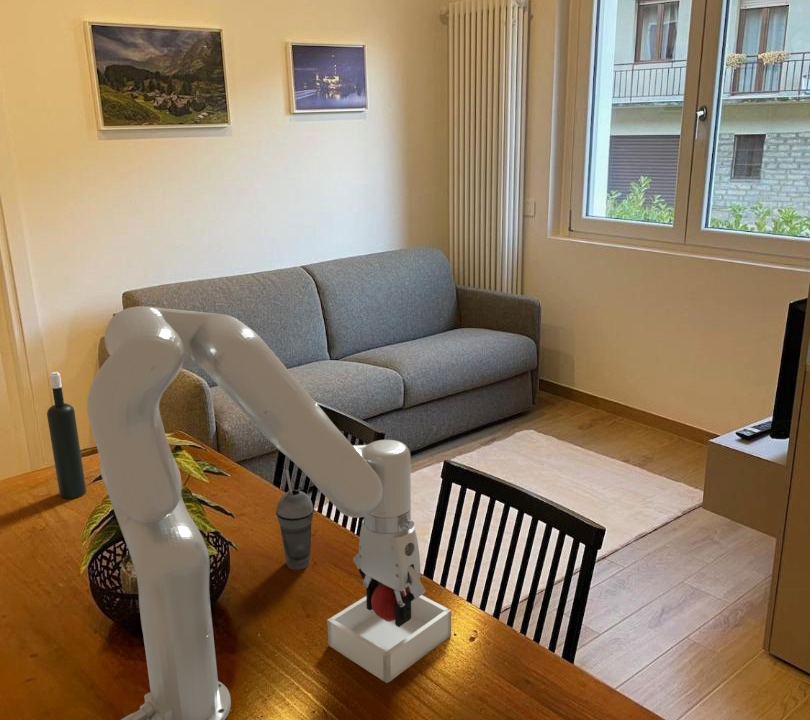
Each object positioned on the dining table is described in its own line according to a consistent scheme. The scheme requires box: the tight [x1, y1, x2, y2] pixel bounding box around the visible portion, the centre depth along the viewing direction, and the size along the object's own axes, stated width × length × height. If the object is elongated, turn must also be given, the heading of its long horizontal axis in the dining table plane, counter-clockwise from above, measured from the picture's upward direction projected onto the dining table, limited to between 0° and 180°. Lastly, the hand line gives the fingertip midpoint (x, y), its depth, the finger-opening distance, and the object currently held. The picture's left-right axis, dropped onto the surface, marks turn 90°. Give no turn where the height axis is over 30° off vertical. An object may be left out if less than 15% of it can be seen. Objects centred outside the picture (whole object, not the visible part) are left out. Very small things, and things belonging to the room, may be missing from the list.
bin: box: [326, 589, 452, 684], centre depth 130 cm, size 16×14×5 cm
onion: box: [371, 583, 406, 622], centre depth 129 cm, size 6×6×8 cm
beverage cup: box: [275, 469, 315, 570], centre depth 151 cm, size 7×7×20 cm
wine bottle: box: [46, 371, 87, 500], centre depth 179 cm, size 6×6×30 cm
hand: (388, 613), depth 129 cm, fingers closed on onion, 5 cm apart
